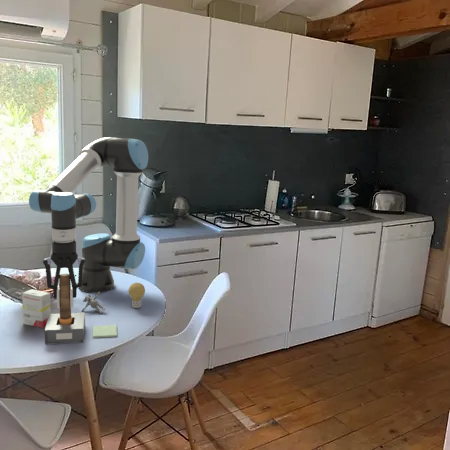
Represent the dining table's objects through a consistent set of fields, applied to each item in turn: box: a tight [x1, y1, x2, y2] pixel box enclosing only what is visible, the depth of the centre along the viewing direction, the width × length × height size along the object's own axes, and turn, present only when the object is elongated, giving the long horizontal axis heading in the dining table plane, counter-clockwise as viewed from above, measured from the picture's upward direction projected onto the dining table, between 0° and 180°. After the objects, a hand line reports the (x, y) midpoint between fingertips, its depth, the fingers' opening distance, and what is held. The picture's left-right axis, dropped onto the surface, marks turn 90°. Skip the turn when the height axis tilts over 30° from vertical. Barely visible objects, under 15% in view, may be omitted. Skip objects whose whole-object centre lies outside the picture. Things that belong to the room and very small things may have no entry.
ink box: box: [21, 288, 52, 329], centre depth 173 cm, size 9×5×12 cm, turn 72°
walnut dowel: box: [58, 273, 72, 319], centre depth 164 cm, size 4×4×15 cm
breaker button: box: [59, 316, 72, 325], centre depth 166 cm, size 4×4×3 cm
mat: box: [92, 324, 118, 339], centre depth 171 cm, size 8×8×1 cm
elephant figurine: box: [81, 292, 106, 314], centre depth 187 cm, size 10×6×9 cm
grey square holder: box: [44, 312, 86, 345], centre depth 167 cm, size 13×12×5 cm
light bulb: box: [128, 282, 146, 309], centre depth 192 cm, size 6×6×10 cm
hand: (65, 306), depth 165 cm, fingers closed on walnut dowel, 3 cm apart
